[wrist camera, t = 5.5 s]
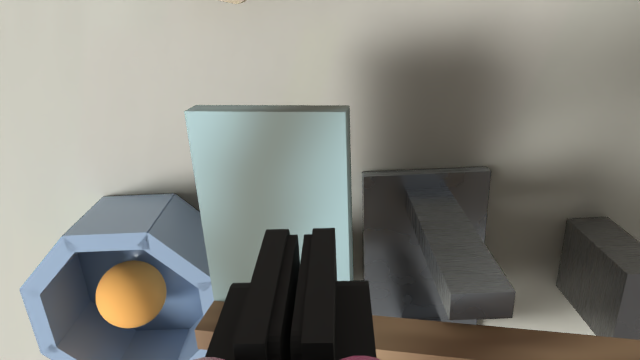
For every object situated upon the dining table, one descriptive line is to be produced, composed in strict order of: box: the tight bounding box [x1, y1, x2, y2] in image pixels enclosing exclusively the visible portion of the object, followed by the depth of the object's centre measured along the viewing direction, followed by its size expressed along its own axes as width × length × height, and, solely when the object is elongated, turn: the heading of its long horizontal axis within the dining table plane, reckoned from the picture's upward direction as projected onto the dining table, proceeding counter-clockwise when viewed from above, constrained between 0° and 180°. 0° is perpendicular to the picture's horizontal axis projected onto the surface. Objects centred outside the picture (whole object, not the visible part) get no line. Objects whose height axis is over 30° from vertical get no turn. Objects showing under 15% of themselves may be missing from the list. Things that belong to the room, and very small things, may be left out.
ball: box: [96, 260, 167, 328], centre depth 23 cm, size 3×3×3 cm
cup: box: [20, 194, 214, 360], centre depth 23 cm, size 9×9×4 cm
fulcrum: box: [362, 167, 640, 340], centre depth 20 cm, size 19×10×9 cm, turn 93°
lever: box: [184, 105, 640, 360], centre depth 14 cm, size 18×13×3 cm
